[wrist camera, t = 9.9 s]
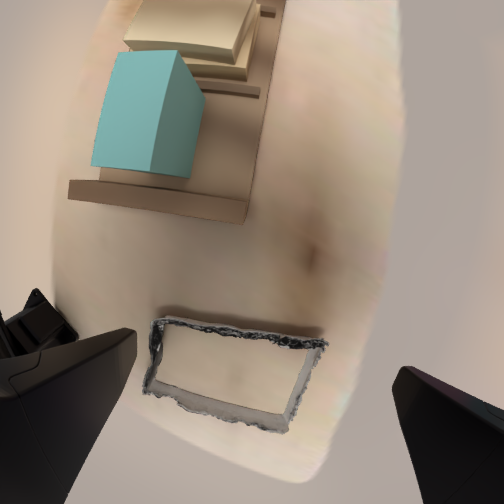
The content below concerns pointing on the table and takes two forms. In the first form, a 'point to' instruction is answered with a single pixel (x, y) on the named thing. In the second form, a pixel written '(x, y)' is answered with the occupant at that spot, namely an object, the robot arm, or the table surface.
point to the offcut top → (192, 28)
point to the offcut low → (226, 70)
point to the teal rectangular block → (149, 115)
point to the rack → (206, 146)
